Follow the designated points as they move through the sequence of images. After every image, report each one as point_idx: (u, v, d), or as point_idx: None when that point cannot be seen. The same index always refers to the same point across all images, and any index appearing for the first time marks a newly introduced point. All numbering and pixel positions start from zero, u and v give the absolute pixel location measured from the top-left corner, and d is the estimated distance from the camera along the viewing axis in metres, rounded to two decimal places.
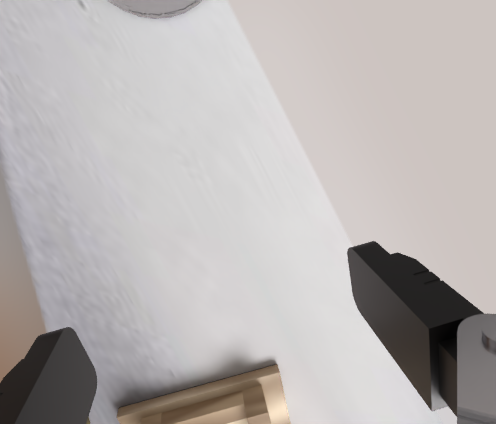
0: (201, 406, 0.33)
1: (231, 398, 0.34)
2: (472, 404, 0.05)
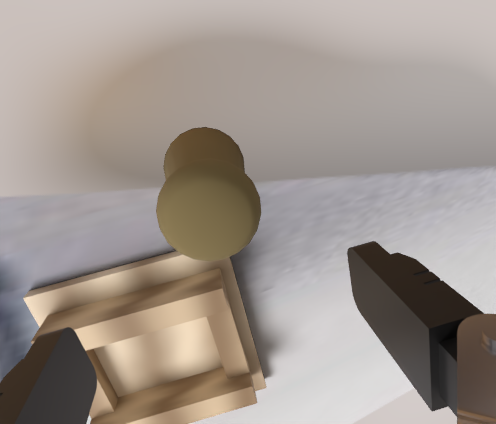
0: (237, 329, 0.30)
1: (245, 355, 0.31)
2: (472, 404, 0.05)
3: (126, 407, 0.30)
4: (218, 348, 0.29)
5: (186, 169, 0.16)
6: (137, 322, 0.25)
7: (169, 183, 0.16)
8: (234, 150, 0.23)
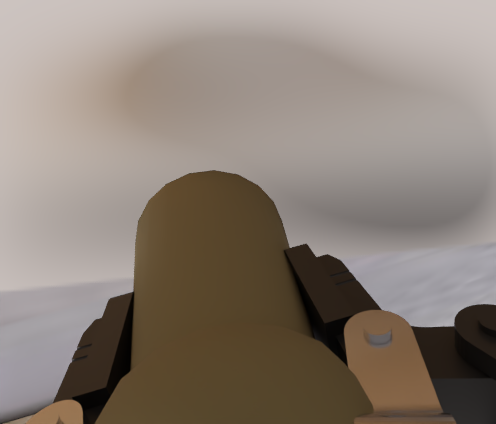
0: None
1: None
2: None
3: None
4: None
5: None
6: None
7: None
8: (274, 223, 0.12)
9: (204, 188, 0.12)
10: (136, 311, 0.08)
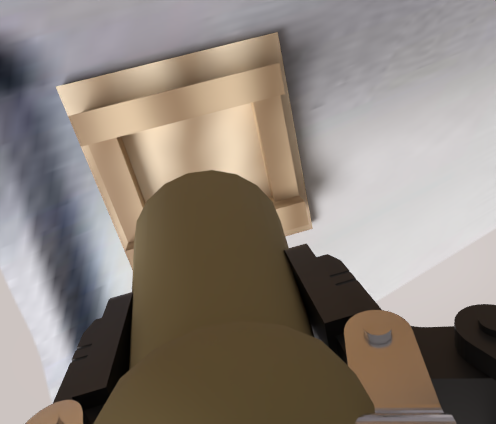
0: None
1: None
2: None
3: None
4: (267, 160, 0.27)
5: (163, 423, 0.04)
6: (185, 100, 0.23)
7: None
8: (272, 223, 0.12)
9: (203, 188, 0.12)
10: (135, 311, 0.08)
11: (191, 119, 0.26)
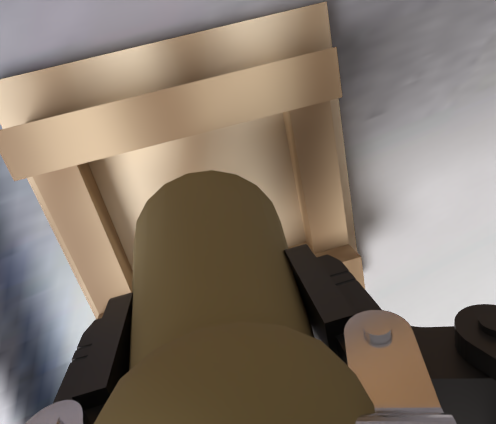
0: None
1: None
2: None
3: None
4: (306, 195, 0.18)
5: None
6: (184, 107, 0.14)
7: None
8: (272, 223, 0.12)
9: (202, 188, 0.12)
10: (135, 311, 0.08)
11: None
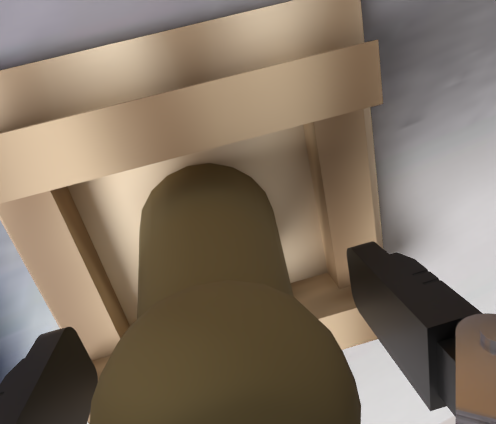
0: None
1: None
2: (470, 404, 0.05)
3: None
4: (331, 221, 0.15)
5: (164, 345, 0.06)
6: (182, 118, 0.11)
7: (115, 388, 0.06)
8: (263, 209, 0.13)
9: (201, 178, 0.13)
10: (141, 282, 0.10)
11: None
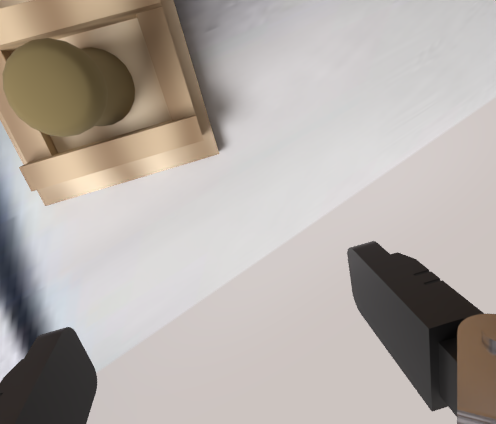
0: None
1: None
2: (472, 404, 0.05)
3: (64, 152, 0.28)
4: (158, 76, 0.27)
5: None
6: (60, 8, 0.23)
7: None
8: (112, 62, 0.25)
9: None
10: None
11: (81, 38, 0.27)
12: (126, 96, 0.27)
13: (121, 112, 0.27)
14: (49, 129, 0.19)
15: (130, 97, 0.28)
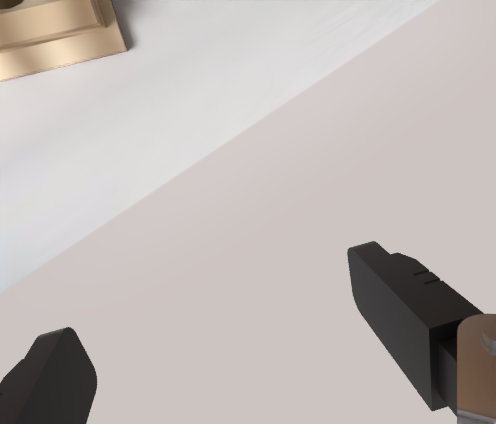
0: None
1: None
2: (472, 404, 0.05)
3: None
4: None
5: None
6: None
7: None
8: None
9: None
10: None
11: None
12: None
13: None
14: None
15: None
